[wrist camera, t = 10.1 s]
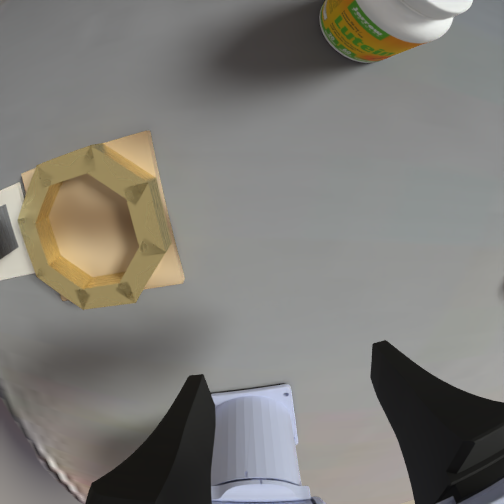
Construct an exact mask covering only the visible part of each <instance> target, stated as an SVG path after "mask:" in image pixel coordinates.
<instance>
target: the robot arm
mask: <svg viewBox="0 0 504 504" xmlns="http://www.w3.org/2000/svg"><path fill="white" fill-rule="evenodd" d="M371 380H372V383H373V386H374V389H375V392H376V395H377V398H378V400H379V402H380V404H381V406H382V408H383V410H384V412H385V414H386V416H387V418H388V420H389V422H390V424H391V426H392V428H393V430H394V432H395V434H396V437H397V439H398V442H399V445H400V448H401V451H402V454H403V457H404V460H405V464H406V467H407V471H408V474H409V478H410V482H411V486H412V491H413V495H414V500H415V504H504V403H503V402H498V401H493V400H489V399H486V398H482V397H479V396H476V395H473V394H470V393H468V392H465V391H463V390H460V389H458V388H456V387H454V386H452V385H450V384H448V383H446V382H444V381H442V380H440V379H438V378H437V377H435V376H434V375H432V374H430V373H429V372H427V371H426V370H424V369H423V368H421V367H420V366H419V365H417V364H416V363H414V362H413V361H412V360H410V359H409V358H408V357H406V356H405V355H404V354H403V353H401V352H400V351H399V350H398V349H396V348H395V347H394V346H393V345H391V344H390V343H389V342H387V341H386V340H385V341H381V342H377V343H373V347H372V364H371ZM297 444H298V437H297V429H296V421H295V414H294V406H293V399H292V392H291V386H290V385H288V384H282V385H276V386H269V387H263V388H256V389H248V390H241V391H233V392H224V393H214V394H211V393H210V391H209V388H208V385H207V383H206V380H205V378H204V375H203V374H201V375H191V376H189V377H188V378H187V380H186V382H185V384H184V385H183V387H182V389H181V391H180V393H179V394H178V396H177V398H176V399H175V401H174V403H173V404H172V406H171V407H170V409H169V410H168V412H167V414H166V415H165V416H164V418H163V419H162V421H161V422H160V423H159V425H158V426H157V427H156V429H155V430H154V431H153V433H152V434H151V435H150V436H149V437H148V438H147V440H146V441H145V442H144V443H143V444H142V445H141V446H140V447H139V448H138V449H137V450H136V451H135V452H134V453H133V454H132V455H131V456H130V457H129V458H127V459H126V460H125V461H124V462H123V463H121V464H120V465H119V466H117V467H116V468H115V469H113V470H112V471H111V472H109V473H108V474H106V475H104V476H103V477H101V478H100V479H98V480H96V481H95V482H93V483H92V484H91V487H90V489H89V493H88V496H87V500H86V504H326V503H325V502H324V501H323V500H322V499H321V498H319V497H311V496H310V490H309V486H302V484H301V478H300V472H299V466H298V459H297V453H296V447H295V445H297Z"/></svg>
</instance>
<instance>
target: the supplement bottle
mask: <svg viewBox="0 0 504 504" xmlns="http://www.w3.org/2000/svg"><path fill="white" fill-rule="evenodd" d="M472 2H473V0H325V2H324V4H323V5H322V7H321V10H320V15H319V20H320V27H321V30H322V33H323V35H324V37H325V38H326V40H327V41H328V43H329V44H330V45H331V46H332V47H333V48H334V49H335V50H336V51H337V52H339V53H340V54H342V55H343V56H345V57H347V58H349V59H351V60H354V61H358V62H364V63H372V62H377V61H381V60H383V59H386V58H388V57H391V56H393V55H396V54H398V53H401V52H404V51H406V50H409V49H411V48H414V47H416V46H419V45H422V44H425V43H428V42H431V41H433V40H435V39H437V38H439V37H441V36H442V35H443V34H445V33H446V32H447V30H448V29H449V27H450V25H451V23H452V20H453V17H454V16H456V15H458V14H461V13H463V12H465V11H466V10H468V9H469V7H470V6H471V4H472Z"/></svg>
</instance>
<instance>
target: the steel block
mask: <svg viewBox="0 0 504 504" xmlns="http://www.w3.org/2000/svg"><path fill="white" fill-rule="evenodd" d="M18 247H19V246H18V243H17V240H16V237H15V234H14V231H13V228H12V224H11V221H10V218H9V214H8V211H7V207H6V204H5V205H2V206H0V259H2V258H3V257H5V256H6V255H8V254H9V253H10V252H12V251H13V250H15V249H16V248H18Z"/></svg>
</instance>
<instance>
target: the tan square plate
mask: <svg viewBox="0 0 504 504" xmlns="http://www.w3.org/2000/svg"><path fill="white" fill-rule="evenodd" d="M104 144H105V145H106V146H108V147H109V148H111V149H113V150H114V151H116V152H117V153H119V154H120V155H122V156H123V157H125V158H127V159H128V160H130V161H131V162H133V163H134V164H136V165H137V166H139V167H140V168H142V169H144V170H145V171H147V172H148V173H150V174H151V175H153V176H154V177H156V179H157V183H158V188H159V192H160V196H161V200H162V205H163V209H164V213H165V217H166V221H167V225H168V229H169V233H170V237H171V241H172V243H171V245H170V247H169V248H168V250H167V252H166V253H165V255H164V256H163V258H162V259H161V261H160V263H159V264H158V266H157V268H156V269H155V271H154V272H153V274H152V276H151V277H150V279H149V281H148V282H147V284H146V286H145V287H144V289H150V288H156V287H163V286H169V285H175V284H182V283H183V282H184V279H185V277H184V273H183V269H182V266H181V262H180V258H179V255H178V251H177V247H176V243H175V239H174V235H173V231H172V227H171V223H170V219H169V215H168V211H167V207H166V202H165V198H164V194H163V189H162V185H161V181H160V176H159V172H158V167H157V162H156V157H155V153H154V148H153V143H152V138H151V133H150V131H144V132H140V133H137V134H133V135H130V136H126V137H123V138H119V139H116V140H113V141H109V142H106V143H104ZM35 169H36V168H34V169H32V170H29V171H27V172H25V173H22V179H23V183H24V187H25V191H26V193H27V190H28V187H29V185H30V182H31V179H32V177H33V174H34V171H35ZM49 220H50V223H51V226H52V230H53V233H54V236H55V239H56V242H57V245H58V248H59V251H60V254H61V256H63V257H64V258H65V259H67V260H68V261H70V262H71V263H73V264H74V265H75V266H77V267H78V268H80V269H81V270H83V271H84V272H86V273H87V274H89V275H90V276H92V277H97V276H103V275H108V274H114V273H120V272H126V270H127V268H128V266H129V265H130V263H131V261H132V259H133V257H134V256H135V254H136V252H137V250H138V248H139V244H138V241H137V237H136V233H135V230H134V226H133V223H132V219H131V215H130V211H129V207H128V204H127V200H126V199H125V198H124V197H122V196H121V195H119V194H118V193H116V192H115V191H113V190H112V189H110V188H109V187H107V186H106V185H104V184H103V183H101V182H100V181H98V180H97V179H95V178H94V177H92V176H91V175H89V174H88V173H86V174H83V175H80V176H77V177H74V178H71V179H68V180H65V181H63V183H62V185H61V187H60V190H59V192H58V194H57V197H56V199H55V202H54V204H53V207H52V209H51V212H50V214H49ZM59 294H60V293H59ZM60 296H61V299H62V301H67V300H68V299H67V298H65V297H64V296H63V295H61V294H60Z"/></svg>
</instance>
